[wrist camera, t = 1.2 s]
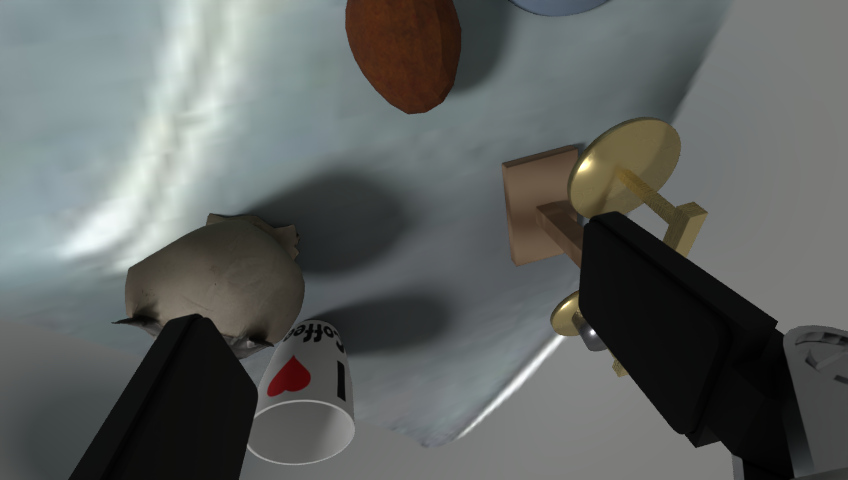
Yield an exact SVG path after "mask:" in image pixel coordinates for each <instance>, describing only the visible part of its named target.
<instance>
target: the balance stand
mask: <svg viewBox="0 0 848 480" xmlns="http://www.w3.org/2000/svg"><path fill="white" fill-rule="evenodd" d="M577 159H578V149H577V148H575V147H573V146H571V145H569V146H565V147H561V148H558V149H554V150H550V151H546V152H543V153H539V154H535V155H532V156H528V157H524V158H520V159H517V160H513V161H509V162H505V163H502V171H503V180H504V190H505V200H506V209H507V219H508V229H509V239H510V248H511V258H512V261H513V262H514V264H515V265H516V266H520V265H524V264H527V263H531V262H534V261H538V260H541V259H545V258H549V257H552V256H556V255H559V254H563V253H566V254H567V255H568V256H569V257H570V258H571V259H572V260H573V262H574V263H575V264H576V265H577V266H578V267H579V268H580V269H581V257H582V244H583V231H584V228H583V227H582V226H581V225H579V224H578V223H577V211H576V210H575V208H574V207H573V206H572V205H571V203H570V201H569V199H568V196H567V183H568V178H569V175H570V173H571V170H572V168H573V166H574V164H575V163H576V161H577Z"/></svg>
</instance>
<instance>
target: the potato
mask: <svg viewBox="0 0 848 480" xmlns="http://www.w3.org/2000/svg"><path fill="white" fill-rule="evenodd" d="M345 29H346V33H347V37H348V41H349V45H350V48H351V51H352V53H353V56H354V58H355V60H356V62H357V64H358V66H359V67H360V69H361V71H362V73H363V74H364V76H365V77H366V78H367V80H368V81H369V82H370V83H371V85H372V86H373V87H374V88H375V90H376V91H377V92H378V93H379V94H380V95H381V96H382V97H383V98H385V99H386V100H387V101H388V102H389V103H390V104H391V105H393V106H394V107H396V108H398V109H400V110H401V111H403V112H405V113H407V114H416V113H425V112H428V111H429V110H431V109H432V108H434V107H436V106H437V105H439V104H441V103H442V102H443V101H444V100H445V98H446V96H447V95H448V93H449V92H450V90H451V88H452V87H453V85H454V80H455V76H456V71H457V66H458V61H459V57H460V52H461V27H460V24H459V20H458V16H457V12H456V9H455V7H454V4H453V1H452V0H348V1H347V6H346V20H345Z"/></svg>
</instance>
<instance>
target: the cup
mask: <svg viewBox="0 0 848 480" xmlns="http://www.w3.org/2000/svg"><path fill="white" fill-rule="evenodd" d="M354 433H355V423H354V408H353V392H352V381H351V376H350V371H349V365H348V360H347V355H346V351H345V348H344V346H343V343H342V341H341V338H340V336H339V333H338V331H337V330H336V329H335V327H333V326H332V325H331V324H329V323H327V322H324V321H320V320H307V321H303V322H300V323H298V324H296V325H295V326H293V327H292V328H291V329H290V331H289V332H288V334H287V335H286V336H285V338H284V339H283V340H282V342H281V343H280V345H279V346H278V347H277V349H276V351H275V353H274V355H273V357H272V359H271V361H270V363H269V365H268V367H267V369H266V371H265V373H264V375H263V378H262V380H261V382H260V385H259V388H258V404H257V408H256V412H255V416H254V420H253V424H252V428H251V432H250V436H249V440H248V444H247V448H248V449H249V450H250V451H251V452H252V453H254V454H255V455H256V456H258V457H260V458H262V459H264V460H267V461H270V462H273V463H278V464H285V465H303V464H310V463H315V462H319V461H322V460H325V459H327V458H330V457H332V456H334V455H336V454H338V453H339V452H341V451H342V450H343V449H344V448H346V447H347V446H348V445H349V443H350V442H351V440H352V438H353V436H354Z"/></svg>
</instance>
